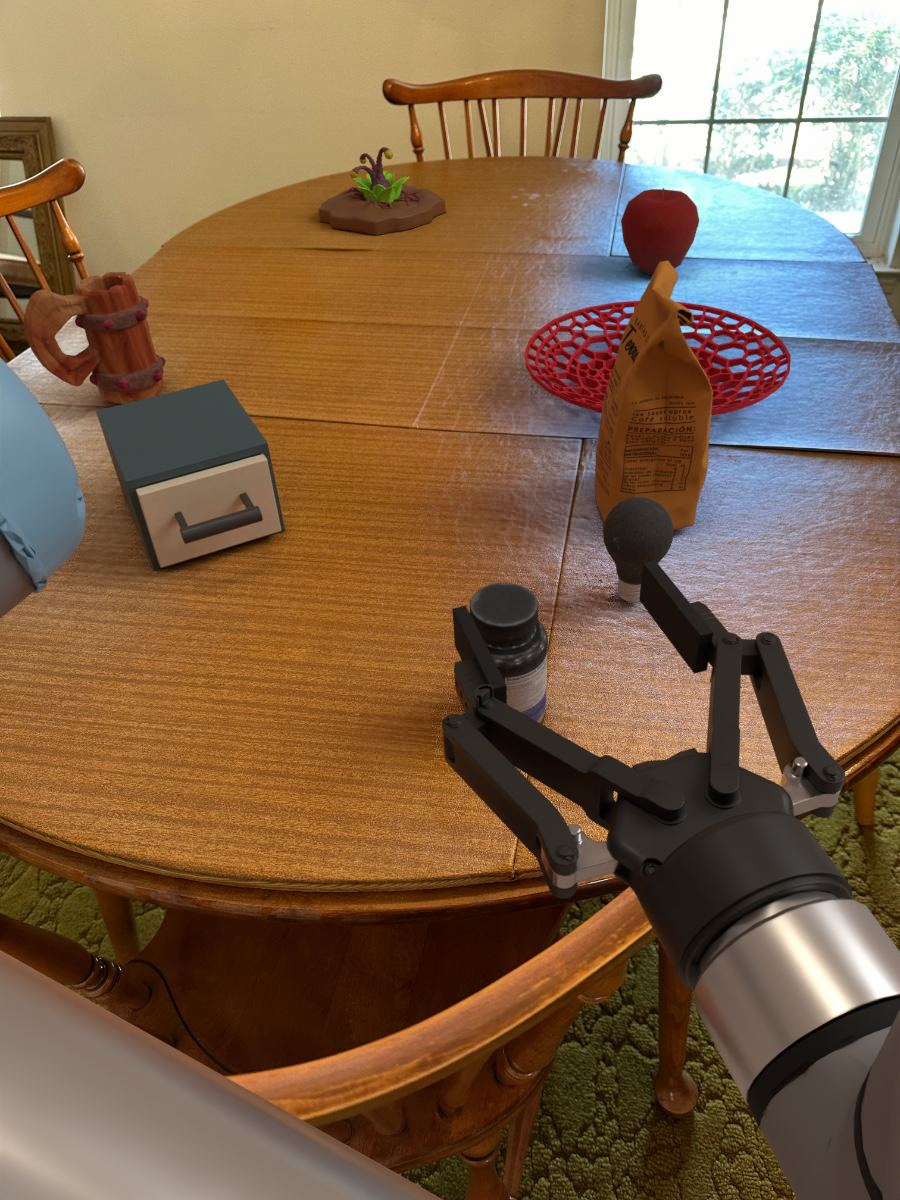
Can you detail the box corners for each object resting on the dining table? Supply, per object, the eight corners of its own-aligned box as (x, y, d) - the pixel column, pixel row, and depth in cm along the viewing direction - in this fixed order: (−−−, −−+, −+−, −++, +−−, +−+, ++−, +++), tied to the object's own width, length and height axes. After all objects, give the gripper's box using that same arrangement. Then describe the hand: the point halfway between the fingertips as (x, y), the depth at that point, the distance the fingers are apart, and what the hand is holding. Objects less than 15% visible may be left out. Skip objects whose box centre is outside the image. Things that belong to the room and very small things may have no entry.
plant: (380, 242, 153) (373, 169, 145) (303, 220, 163) (293, 151, 156) (463, 210, 163) (460, 140, 156) (385, 191, 174) (379, 125, 167)
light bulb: (607, 574, 83) (614, 478, 76) (670, 586, 81) (683, 489, 75) (590, 613, 79) (597, 515, 72) (657, 627, 77) (669, 528, 71)
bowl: (642, 489, 93) (646, 445, 90) (474, 383, 112) (473, 344, 109) (840, 401, 105) (850, 359, 101) (657, 319, 124) (660, 282, 121)
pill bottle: (450, 704, 71) (442, 592, 64) (519, 675, 73) (519, 564, 66) (490, 757, 67) (486, 644, 60) (562, 726, 69) (566, 613, 62)
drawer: (296, 554, 86) (281, 481, 81) (171, 593, 82) (148, 519, 77) (241, 466, 98) (226, 398, 93) (131, 497, 95) (109, 428, 90)
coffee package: (691, 469, 95) (720, 253, 81) (702, 541, 86) (738, 309, 72) (593, 467, 96) (605, 254, 82) (593, 538, 87) (607, 310, 73)
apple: (604, 267, 139) (608, 184, 132) (663, 253, 143) (671, 172, 135) (646, 291, 132) (653, 204, 124) (708, 275, 135) (719, 190, 127)
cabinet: (285, 531, 90) (267, 442, 84) (154, 571, 86) (125, 481, 80) (242, 462, 101) (223, 378, 95) (123, 495, 97) (95, 410, 91)
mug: (156, 372, 119) (124, 254, 109) (186, 393, 114) (155, 271, 104) (45, 411, 112) (0, 289, 103) (71, 436, 107) (27, 309, 98)
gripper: (491, 1089, 36) (362, 700, 52) (994, 914, 40) (730, 607, 57) (487, 991, 31) (346, 597, 48) (1057, 806, 36) (749, 504, 52)
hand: (555, 602), depth 52 cm, fingers open, 10 cm apart
